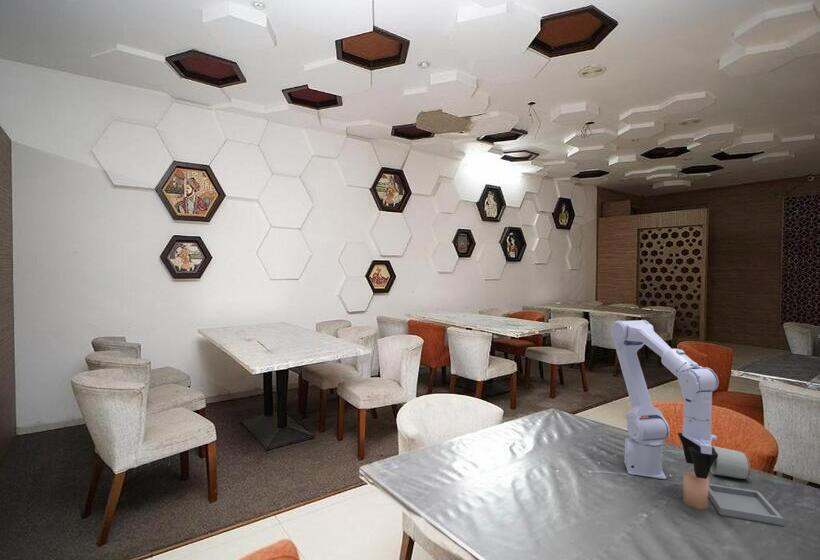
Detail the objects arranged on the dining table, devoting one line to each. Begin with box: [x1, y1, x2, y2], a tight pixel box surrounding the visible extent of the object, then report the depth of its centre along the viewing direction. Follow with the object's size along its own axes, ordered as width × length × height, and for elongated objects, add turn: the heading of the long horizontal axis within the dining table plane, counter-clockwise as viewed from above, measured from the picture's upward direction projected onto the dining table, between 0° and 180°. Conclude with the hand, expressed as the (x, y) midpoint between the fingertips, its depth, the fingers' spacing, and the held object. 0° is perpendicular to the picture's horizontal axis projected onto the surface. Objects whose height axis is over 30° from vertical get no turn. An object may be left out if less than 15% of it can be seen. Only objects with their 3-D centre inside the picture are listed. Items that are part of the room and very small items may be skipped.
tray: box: [708, 483, 785, 527], centre depth 100 cm, size 12×12×2 cm
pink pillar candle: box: [682, 470, 710, 510], centre depth 102 cm, size 5×5×7 cm
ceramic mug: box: [710, 445, 751, 480], centre depth 117 cm, size 11×8×8 cm
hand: (696, 470), depth 101 cm, fingers open, 7 cm apart
